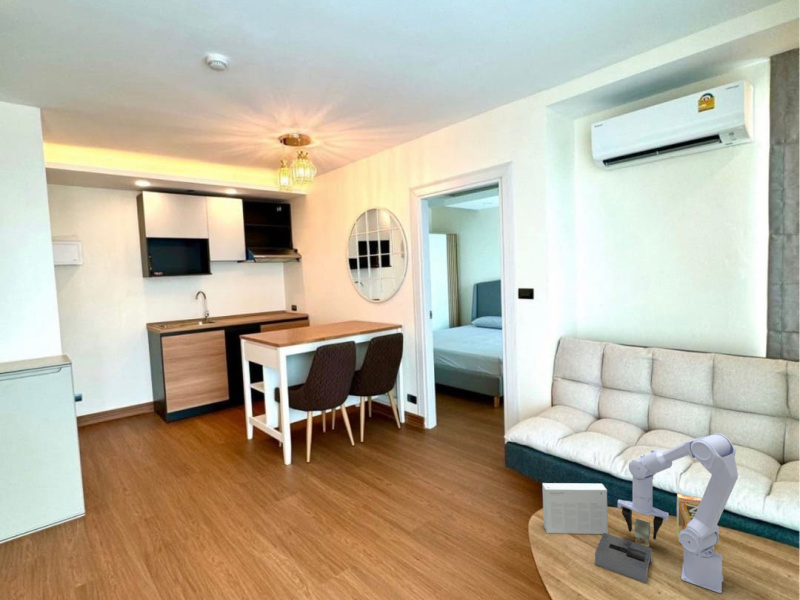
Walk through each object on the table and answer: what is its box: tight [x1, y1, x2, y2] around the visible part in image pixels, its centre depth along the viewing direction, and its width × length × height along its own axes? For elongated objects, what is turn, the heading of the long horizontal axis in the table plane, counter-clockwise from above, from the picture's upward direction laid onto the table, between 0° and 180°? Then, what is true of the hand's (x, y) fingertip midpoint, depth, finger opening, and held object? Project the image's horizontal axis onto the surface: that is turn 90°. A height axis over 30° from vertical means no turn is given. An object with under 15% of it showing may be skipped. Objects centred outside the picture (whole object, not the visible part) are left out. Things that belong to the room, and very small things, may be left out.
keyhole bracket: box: [594, 533, 653, 584], centre depth 131 cm, size 14×12×4 cm
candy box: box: [676, 493, 702, 544], centre depth 139 cm, size 9×4×15 cm, turn 67°
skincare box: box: [542, 482, 609, 535], centre depth 149 cm, size 21×6×16 cm, turn 84°
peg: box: [634, 518, 651, 547], centre depth 140 cm, size 4×4×7 cm
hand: (642, 533), depth 140 cm, fingers open, 6 cm apart
